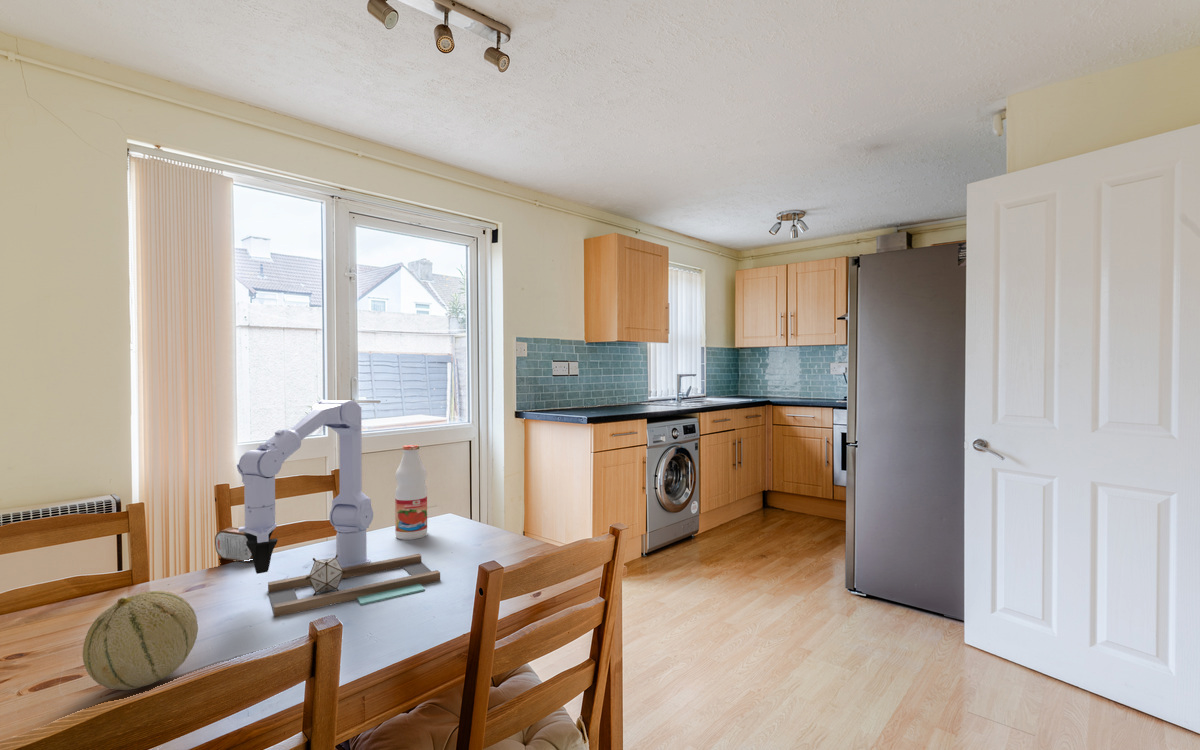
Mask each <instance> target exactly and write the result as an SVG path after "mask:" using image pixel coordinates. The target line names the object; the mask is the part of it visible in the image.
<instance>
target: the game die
mask: <svg viewBox="0 0 1200 750" xmlns="http://www.w3.org/2000/svg"><path fill="white" fill-rule="evenodd" d="M334 557H335V558H333V557H332V558H331V557H330V558H325V559H316V558H314V557H313V558H312V561H313V564H312V567H311V570H310V573H309V574H310V575H309V574H308V575H309V576H307V577H306V580H308V579H309V581H310V583H311V585H310V586H311V587H312V589H313V592H314V593H313V594H312V595H313V596H316V595H317V594H318V593H324V592H328V591H329V592H330V591H334V590H336V591H340V589H339V588H338V587H339V585H340V582H341V580H342V579H341V577H342V575H343V574H344V573H345V572H346V570H344V571H343V570H342V568H341V566H340V564H339V562H338V560H337V557H338V554H337V555H335V556H334Z"/></svg>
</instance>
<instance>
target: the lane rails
mask: <svg viewBox="0 0 1200 750" xmlns="http://www.w3.org/2000/svg"><path fill="white" fill-rule="evenodd" d="M420 562H422V555H421V554H420V553H415V554H411V555H406V556H400V557H394V558H389V559H384V560H383V559H382V560H378V561H374V562H373V561H372V562H371V563H367V564H362V565H356V566H351V567H346V568H342V570H343V571H344V570H346V572H345V573H344V574H343V575H342V577H341V580H344V579H343V578H345V579H349V578H348V577H350V578H354V576H355V577H358V576H365V575H370V574H375V573H379V571H380V572H385V571H389V570H395V569H399V567H400V568H403V567H402V566H405V565H410V564H415V563H420ZM384 570H385V571H384ZM374 572H375V573H374ZM309 575H310V573H309V574H306V575H300V576H294V577H293V576H292V577H289V578H284V579H278V580H274V581H268V582H267V592H268V593H269V592H274V591H279V590H284V589H289V588H294V590H295V589H299V588H304V587H309V585H310V586H312V585H311V583H310V581H309V579H308V580H306V577H307V576H309ZM440 581H441V572H440V571H439V570H438V569H435V570H431V572H426V573H421V574H416V575H412V576H410V575H408V576H402V577H398V578H393V579H389V580H384V581H379V582H374V583H370V584H364V585H360V586H356V587H354V586H353V587H351V588H346V589H339V591H331V592H327V593H322V594H318V595H317V594H316V595H315V596H314V595H313V596H307V597H303V598H299V599H297V600H292V601H288V602H283V603H278V604H274V612H273V615H274V618H277V617H282V616H288V615H290V614H292V615H293V614H296V613H300V612H305V611H309V610H314V609H319V608H322V607H327V606H326V605H328V606H331V605H330V604H332V605H335V604H334V603H337V604H340V603H339V602H342V603H345V601H346V602H350V601H353V600H354V601H355V600H357V597H361V596H365V595H370V594H374V593H379V592H383V591H388V590H393V589H397V588H402V587H406V586H411V585H415V584H421V585H422V586H423V585H426V584H432V583H435V582H436V583H437V582H440Z"/></svg>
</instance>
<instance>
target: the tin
mask: <svg viewBox="0 0 1200 750" xmlns="http://www.w3.org/2000/svg"><path fill="white" fill-rule="evenodd" d="M238 528H239V527H232V526H229V527H227V528H225V529H221V530H220V531H218V532H216V535H215V537H214V546H215V551H216V553H217V554H218V556H219V557H220V558H222V559H223V560H227V561H228V560H229V561H235V562H239V561H244V560H249V559H253V558H252V554H251V552H250V550H249V548H248V547H247V545H246V541H248V540H247V538H246V536H245V535H244V532H239V531H238ZM250 562H252V561H251V560H250ZM244 563H249V561H245V562H244Z"/></svg>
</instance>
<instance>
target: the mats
mask: <svg viewBox="0 0 1200 750" xmlns="http://www.w3.org/2000/svg"><path fill="white" fill-rule="evenodd" d="M401 568H403V570H404V571H405V572H406V571H407V572H408V573H409V574H410V575H411V576H412V575H416V574H421V573H426V572H431V571H432V570H431V569H429V567H428V566H426V565H425V564H424V563H423V562H422V561H421V562H420V563H415V564H410V565H405V566H402V567H401ZM407 572H406V573H407ZM409 574H408V575H409ZM410 575H409V576H410ZM268 595H269V599H270V605H271V607H272V612H273V613H274V604H278V603H283V602H288V601H292V600H297V599H298V596H297V593H296V591H295V589H294V588H289V589H284V590H279V591H274V592H268Z"/></svg>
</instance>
